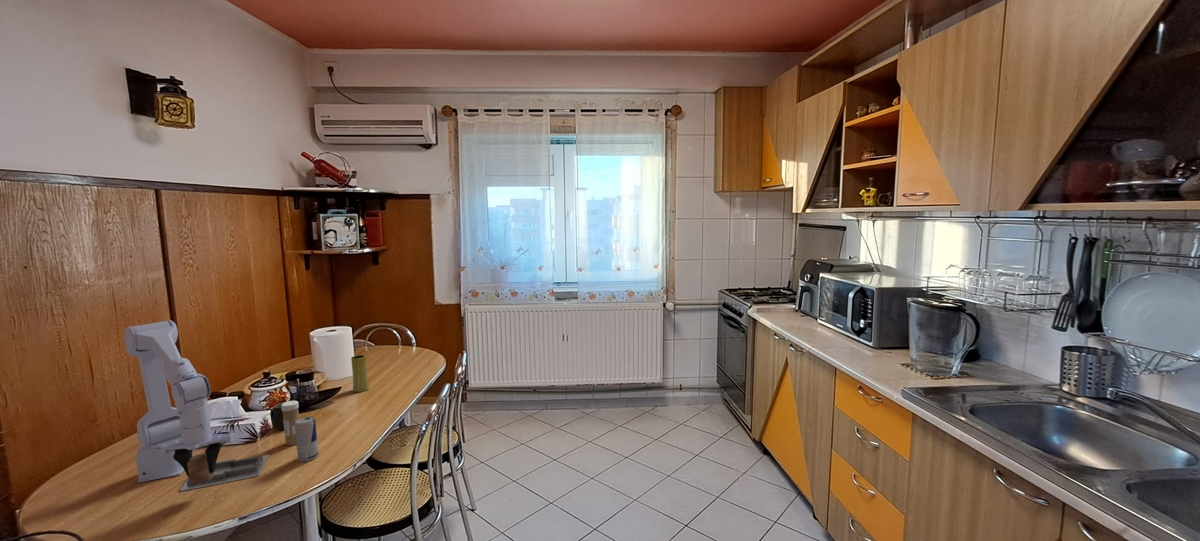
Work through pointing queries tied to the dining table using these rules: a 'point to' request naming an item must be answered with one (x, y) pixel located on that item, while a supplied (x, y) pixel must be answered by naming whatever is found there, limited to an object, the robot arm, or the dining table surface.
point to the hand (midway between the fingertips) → (201, 473)
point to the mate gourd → (278, 416)
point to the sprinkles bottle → (290, 420)
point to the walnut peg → (199, 469)
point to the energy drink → (306, 438)
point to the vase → (359, 373)
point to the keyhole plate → (232, 471)
